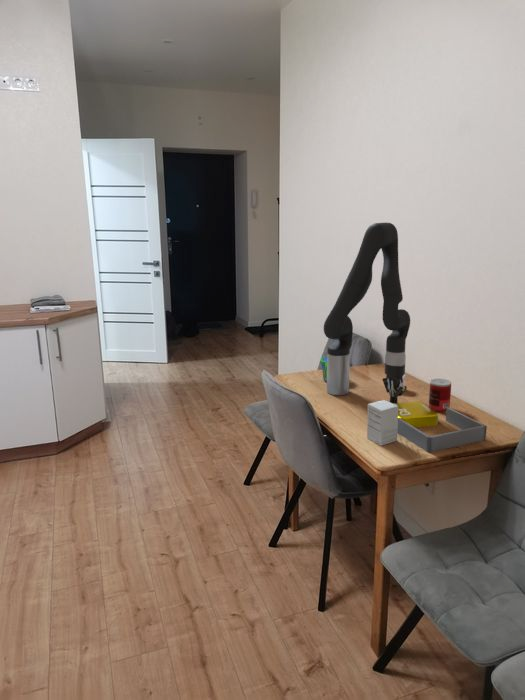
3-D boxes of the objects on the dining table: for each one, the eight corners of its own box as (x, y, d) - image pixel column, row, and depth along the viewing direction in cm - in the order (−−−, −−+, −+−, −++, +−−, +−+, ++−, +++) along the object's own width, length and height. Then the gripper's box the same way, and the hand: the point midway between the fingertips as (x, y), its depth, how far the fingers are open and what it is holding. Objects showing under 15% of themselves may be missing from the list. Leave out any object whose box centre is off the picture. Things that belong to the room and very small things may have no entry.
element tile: (439, 426, 186) (440, 414, 184) (399, 430, 184) (400, 417, 182) (421, 411, 200) (422, 399, 199) (384, 414, 198) (384, 402, 197)
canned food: (450, 406, 203) (452, 379, 200) (448, 413, 196) (450, 386, 193) (430, 403, 206) (431, 377, 203) (427, 410, 199) (428, 383, 196)
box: (394, 430, 182) (395, 417, 181) (447, 420, 190) (448, 407, 188) (428, 452, 165) (429, 438, 164) (485, 439, 173) (486, 426, 172)
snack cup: (335, 387, 228) (336, 365, 225) (313, 383, 233) (313, 362, 231) (349, 377, 241) (349, 356, 238) (328, 374, 246) (328, 353, 244)
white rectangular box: (382, 433, 180) (384, 399, 177) (397, 441, 174) (399, 405, 171) (366, 438, 177) (367, 403, 174) (380, 446, 171) (381, 410, 167)
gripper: (376, 359, 202) (375, 401, 206) (397, 368, 190) (395, 412, 194) (393, 356, 204) (391, 398, 209) (414, 365, 192) (412, 409, 197)
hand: (393, 404), depth 201 cm, fingers closed
